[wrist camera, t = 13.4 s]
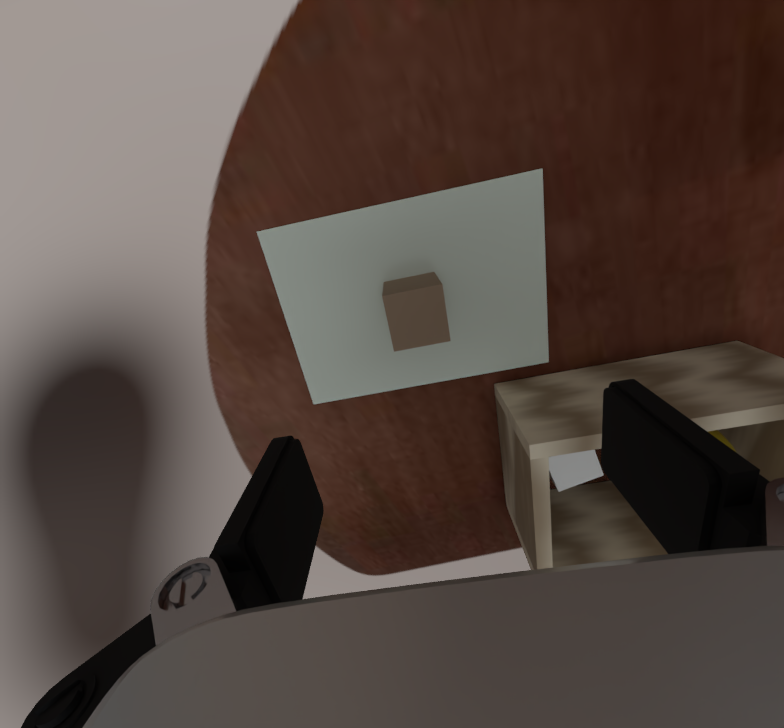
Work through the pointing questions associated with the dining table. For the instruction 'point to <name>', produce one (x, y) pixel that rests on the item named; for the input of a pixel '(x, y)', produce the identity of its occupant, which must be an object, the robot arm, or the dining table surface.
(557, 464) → the grey cube
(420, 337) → the lid
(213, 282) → the dining table surface
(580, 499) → the box
